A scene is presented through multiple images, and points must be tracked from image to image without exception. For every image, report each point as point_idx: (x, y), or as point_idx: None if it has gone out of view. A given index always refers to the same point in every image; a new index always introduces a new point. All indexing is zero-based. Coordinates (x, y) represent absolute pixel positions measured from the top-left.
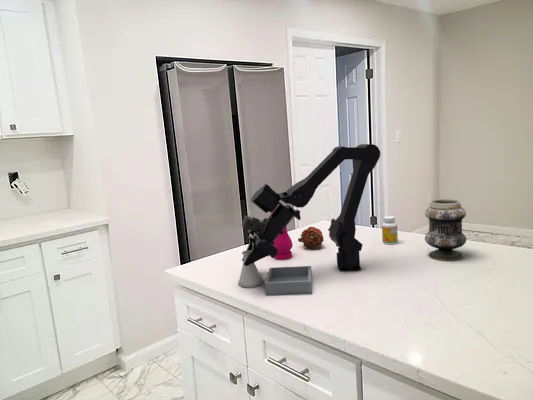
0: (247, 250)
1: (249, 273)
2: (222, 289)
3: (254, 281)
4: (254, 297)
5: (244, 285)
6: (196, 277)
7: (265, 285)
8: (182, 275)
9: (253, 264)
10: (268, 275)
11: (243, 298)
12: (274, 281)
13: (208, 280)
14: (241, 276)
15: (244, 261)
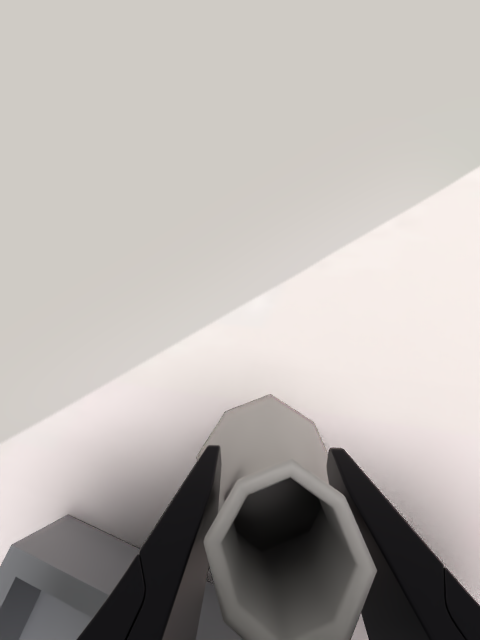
0: (362, 572)
1: None
2: (247, 319)
3: None
4: (81, 448)
5: (220, 422)
6: (436, 227)
7: (22, 542)
8: (476, 179)
9: (247, 544)
10: None
11: (101, 395)
12: None
13: (382, 271)
14: (258, 416)
15: (258, 462)
